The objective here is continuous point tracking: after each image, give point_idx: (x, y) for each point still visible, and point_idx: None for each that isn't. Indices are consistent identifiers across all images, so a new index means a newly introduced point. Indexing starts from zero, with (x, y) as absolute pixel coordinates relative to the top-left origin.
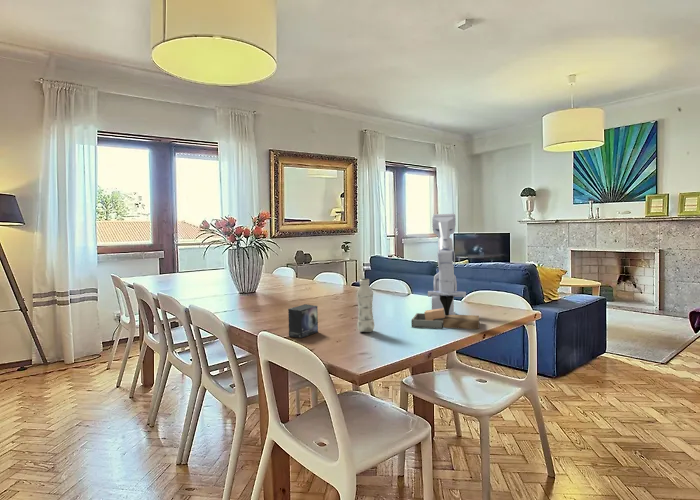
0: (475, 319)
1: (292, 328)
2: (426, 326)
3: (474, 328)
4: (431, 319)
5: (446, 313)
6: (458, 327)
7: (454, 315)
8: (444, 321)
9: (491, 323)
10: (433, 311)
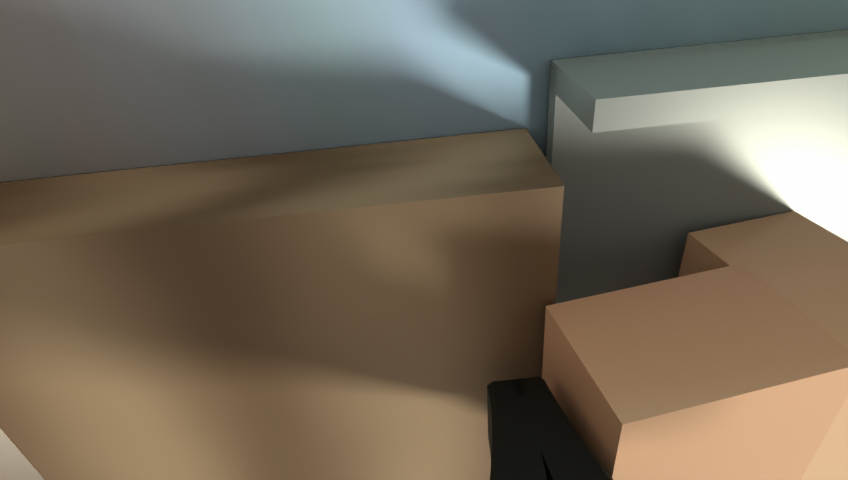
0: (1, 360)
1: None
2: (827, 35)
3: (27, 182)
4: (758, 261)
5: (530, 402)
6: (281, 157)
7: (414, 477)
8: (529, 174)
9: (8, 467)
10: (828, 369)
